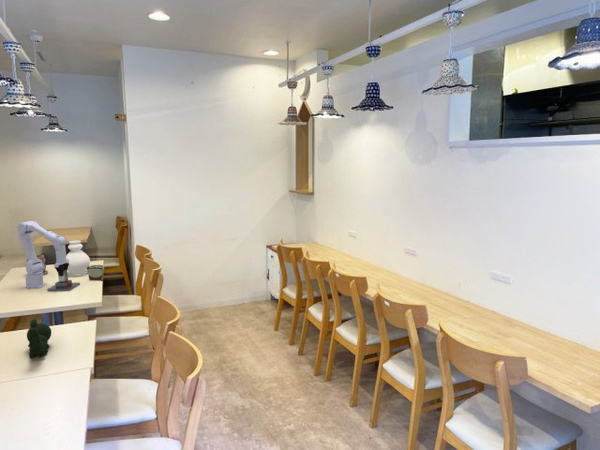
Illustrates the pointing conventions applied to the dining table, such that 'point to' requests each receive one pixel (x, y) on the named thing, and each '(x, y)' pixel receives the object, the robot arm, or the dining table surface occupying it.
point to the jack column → (64, 277)
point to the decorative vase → (77, 259)
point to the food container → (95, 272)
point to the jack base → (63, 286)
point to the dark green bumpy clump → (38, 338)
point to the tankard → (42, 262)
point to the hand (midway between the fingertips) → (62, 275)
